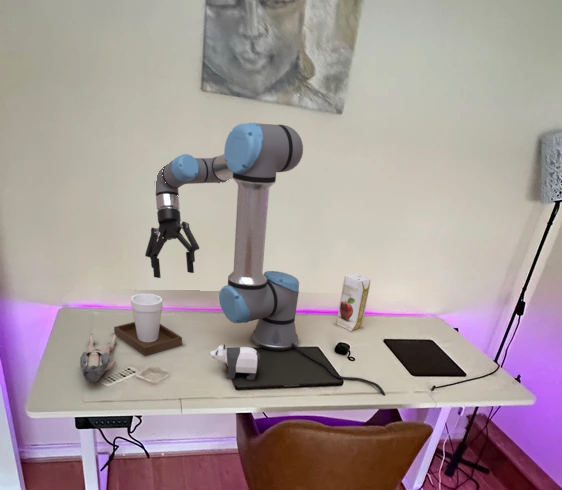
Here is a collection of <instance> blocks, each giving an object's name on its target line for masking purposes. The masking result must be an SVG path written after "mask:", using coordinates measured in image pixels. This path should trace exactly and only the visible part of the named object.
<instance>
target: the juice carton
mask: <svg viewBox="0 0 562 490" xmlns="http://www.w3.org/2000/svg"><path fill="white" fill-rule="evenodd" d="M371 280H372V279H371V277H368V276H363V275H361V274H359V273H357V272H352V273H349V274H346V275H344V279H343V283H342V289H341V295H340V300H339V305H338V311H337V316H336V325H337V326H339V327H341V328H344V329H346V330H347V331H350V332H352V331H354V330H357V329H360V328H361V327H362V325H363V322H364V317H365V312H366V307H367V303H368V298H369V293H370V286H371Z"/></svg>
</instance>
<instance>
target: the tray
mask: <svg viewBox="0 0 562 490" xmlns="http://www.w3.org/2000/svg"><path fill="white" fill-rule="evenodd" d="M113 335H116V336H117V338H119V339H120V340H121V341H122V342H124V343H125V344H127V345H128V346H130V347H131V348H132V349H134V350H135V351H137V352H139V354H141V355H143V356H144V357H147V356H150V355H151V356H152V355H154V354H156V353H161V352H164V351H168V350H171V349H174V348H177V347H181V346H183V337H182V336H181V335H180V334H178V333H176V332H175V331H173V330H172V329H169V328H168V327H166V326H164V325H163V324H161V323H160V327H159V335H158V339H157V340H156V341H153V342H143V341H140V340H139V339H138V337H137V331H136V326H135V321H132V322H128V323H125V324H121V325H116V326H114V327H113Z"/></svg>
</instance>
